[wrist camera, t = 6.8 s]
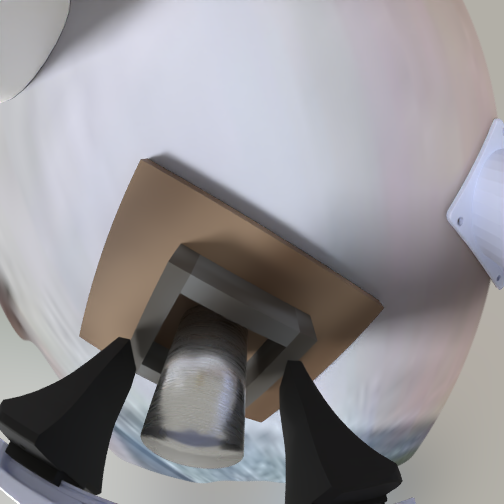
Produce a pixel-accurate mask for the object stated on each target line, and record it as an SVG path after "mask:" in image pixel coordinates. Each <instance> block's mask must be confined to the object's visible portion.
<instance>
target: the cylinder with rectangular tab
mask: <svg viewBox="0 0 504 504" xmlns="http://www.w3.org/2000/svg"><path fill="white" fill-rule="evenodd" d="M69 6H70V0H0V103H3V102H5V101H8V100H10V99H12V98H13V97H15V96H16V95H17V94H18V93H19V92H21V91H22V90H23V89H24V88H25V87H26V86H27V85H28V83H29V82H30V81H31V80H32V79H33V78H34V77H35V75H36V74H37V72H38V71H39V70H40V68H41V67H42V65H43V64H44V63H45V61H46V60H47V58H48V56H49V54H50V53H51V51H52V49H53V48H54V46H55V44H56V43H57V40H58V38H59V36H60V34H61V32H62V30H63V28H64V25H65V22H66V19H67V16H68V13H69Z"/></svg>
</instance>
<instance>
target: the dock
mask: <svg viewBox="0 0 504 504" xmlns="http://www.w3.org/2000/svg"><path fill="white" fill-rule="evenodd" d="M200 304H201V305H203V306H205V307H206V308H208V309H210V310H212V311H214V312H216V313H218V314H220V315H222V316H224V317H226V318H227V319H229V320H231V321H233V322H235V323H237V324H239V325H241V326H243V327H245V328H247V331H248V340H247V369H246V398H245V418H249V419H252V420H255V421H258V422H263V421H264V420H265V419H267V418H268V417H269V416H271V415H272V414H273V413H275V412H276V411H277V410H278V409H280V408H279V388H280V384H281V381H282V378H283V374H284V371H285V367H286V364H287V360H293V361H301V362H302V363H303V365H304V367H305V368H306V370H307V372H308V374H309V376H310V377H311V379H312V381H313V380H314V379H315V378H316V377H317V376H318V375H320V374H321V373H322V372H323V371H324V370H325V369H326V368H327V367H328V366H329V365H330V364H331V363H332V362H333V361H334V360H336V359H337V358H338V357H339V356H340V355H341V354H342V353H343V352H344V351H345V350H346V349H347V348H348V347H349V346H350V345H351V344H352V343H353V342H354V341H355V339H356V338H357V337H358V336H359V335H360V334H361V333H362V332H363V331H364V330H365V329H366V328H367V327H368V326H369V325H370V323H371V322H372V321H373V320H374V319H375V318H376V317H377V316H378V315H379V313H380V312H381V311H382V310H383V309H384V307H383V306H382V304H381V303H380V301H379V300H377V299H376V298H374V297H373V296H371V295H370V294H368V293H367V292H365V291H364V290H362V289H361V288H359V287H358V286H356V285H355V284H353V283H352V282H350V281H349V280H347V279H346V278H344V277H343V276H341V275H339V274H338V273H336V272H335V271H333V270H332V269H330V268H329V267H327V266H325V265H324V264H322V263H321V262H319V261H318V260H316V259H315V258H313V257H311V256H310V255H308V254H307V253H305V252H303V251H302V250H300V249H299V248H297V247H296V246H294V245H292V244H291V243H289V242H288V241H286V240H284V239H283V238H281V237H280V236H278V235H276V234H275V233H273V232H271V231H270V230H268V229H267V228H265V227H263V226H262V225H260V224H258V223H257V222H255V221H254V220H252V219H250V218H249V217H247V216H245V215H244V214H242V213H240V212H239V211H237V210H235V209H234V208H232V207H230V206H229V205H227V204H225V203H224V202H222V201H220V200H219V199H217V198H215V197H214V196H212V195H210V194H208V193H207V192H205V191H203V190H202V189H200V188H198V187H197V186H195V185H193V184H191V183H190V182H188V181H186V180H184V179H183V178H181V177H179V176H178V175H176V174H174V173H172V172H171V171H169V170H167V169H165V168H164V167H162V166H160V165H158V164H156V163H155V162H153V161H151V160H149V159H148V158H147V159H141V160H140V162H139V164H138V166H137V168H136V170H135V172H134V175H133V177H132V179H131V181H130V183H129V185H128V188H127V190H126V192H125V194H124V197H123V199H122V201H121V204H120V206H119V209H118V211H117V214H116V216H115V219H114V221H113V224H112V226H111V229H110V232H109V234H108V237H107V240H106V243H105V246H104V248H103V251H102V254H101V257H100V260H99V263H98V267H97V270H96V273H95V276H94V280H93V283H92V286H91V290H90V294H89V297H88V301H87V305H86V309H85V313H84V317H83V321H82V326H81V330H80V335H79V337H81V338H82V339H84V340H85V341H87V342H89V343H90V344H92V345H93V346H95V347H96V348H98V349H99V350H101V351H102V350H103V349H104V348H105V347H107V346H108V345H109V344H110V343H112V342H113V341H114V340H115V339H117V338H118V337H122V338H127V339H130V341H131V346H132V351H133V356H134V361H135V365H136V372H135V373H136V374H138V375H140V376H142V377H144V378H146V379H148V380H150V381H152V382H154V383H156V384H158V381H159V378H160V375H161V372H162V370H163V367H164V364H165V361H166V358H167V356H168V353H169V350H170V348H171V345H172V342H173V339H174V337H175V334H176V331H177V329H178V326H179V323H180V321H181V318H182V317H183V315H184V314H185V312H187V311H188V310H189V309H191V308H192V307H194V306H197V305H200Z"/></svg>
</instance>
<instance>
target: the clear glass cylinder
mask: <svg viewBox="0 0 504 504" xmlns="http://www.w3.org/2000/svg"><path fill="white" fill-rule="evenodd" d="M247 340H248V331H247V328H245V327H243V326H241V325H239V324H237V323H235V322H233V321H231V320H229V319H227V318H226V317H224V316H222V315H220V314H218V313H216V312H214V311H212V310H210V309H208V308H206V307H205V306H203V305H201V304H200V305H197V306H194V307H192V308H191V309H189V310H188V311H187V312H185V314H184V315H183V317H182V318H181V321H180V323H179V326H178V329H177V331H176V334H175V337H174V339H173V342H172V345H171V348H170V350H169V353H168V356H167V358H166V361H165V364H164V367H163V370H162V372H161V375H160V378H159V381H158V384H157V387H156V390H155V393H154V395H153V398H152V401H151V404H150V407H149V410H148V413H147V416H146V419H145V423H144V426H143V429H142V432H141V440H142V442H143V443H144V445H145V446H146V447H147V448H148V449H150V450H151V451H152V452H154V453H155V454H157V455H159V456H160V457H162V458H164V459H167V460H169V461H172V462H174V463H177V464H181V465H185V466H190V467H196V468H207V469H214V468H224V467H229V466H232V465H235V464H237V463H238V462H240V461H241V460H242V458H243V456H244V428H245V398H246V369H247Z"/></svg>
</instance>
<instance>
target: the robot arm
mask: <svg viewBox="0 0 504 504" xmlns="http://www.w3.org/2000/svg"><path fill="white" fill-rule="evenodd" d="M458 219H459V222H458V223H457V221H458ZM447 220H448V222H449V223H450V224H451V225H452V227H453V228H454V229H455V230H456V231H457V233H458V234H459V235H460V237H461V238H462V239H463V240H464V242H465V243H466V244H467V246H468V247H469V248H470V250H471V251H472V252H473V254H474V255H475V256H476V258H477V259H478V261H479V262H480V263H481V265H482V266H483V268H484V269H485V271H486V272H487V274H488V275H489V277H490V278H491V280H492V281H493V283H494V285H495V286H496V287H497V288H498V289H499V290H500V289H502V288H503V287H504V123H503V121H502V120H501V119H499V118H496V119H494V120H493V123H492V125H491V128H490V130H489V132H488V135H487V137H486V139H485V141H484V144H483V146H482V148H481V150H480V152H479V154H478V156H477V158H476V160H475V162H474V164H473V166H472V168H471V170H470V172H469V174H468V176H467V178H466V180H465V182H464V183H463V185H462V187H461V189H460V191H459V192H458V194H457V196H456V197H455V199H454V201H453V203H452V204H451V206H450V208H449V209H448V211H447ZM135 372H136V365H135V361H134V356H133V351H132V346H131V341H130V339H127V338H122V337H118V338H117V339H115V340H114V341H113V342H112V343H110V344H109V345H108V346H107V347H105V348H104V349H103V350H102V351H101V352H99V353H98V354H97V355H96V356H94V357H93V358H92V359H90V360H89V361H88V362H87V363H85V364H84V365H82V366H81V367H80V368H78V369H77V370H75V371H74V372H72V373H71V374H69V375H68V376H66V377H64V378H63V379H61V380H59V381H57V382H55V383H53V384H51V385H49V386H47V387H45V388H42V389H40V390H38V391H35V392H32V393H29V394H26V395H23V396H20V397H15V398H11V399H6V400H3V401H2V403H1V404H0V430H1V431H2V432H3V434H4V435H5V436H6V437H7V438H8V439H9V440H10V443H9V445H8V444H7V443H6V442H4V441H3V440H2V439H1V438H0V489H1V490H2V491H3V492H5V493H6V494H7V495H8V496H9V497H11V498H12V499H13V500H14V501H16V502H17V503H18V504H117V503H114V502H111V501H109V500H106V499H103V498H101V497H98V496H96V495H98V494H100V493H101V489H102V480H103V479H102V478H103V471H104V466H105V460H106V455H107V451H108V446H109V442H110V438H111V435H112V431H113V428H114V425H115V422H116V420H117V418H118V415H119V413H120V411H121V409H122V406H123V404H124V402H125V400H126V397H127V395H128V393H129V391H130V388H131V386H132V382H133V379H134V376H135ZM279 408H280V415H281V423H282V430H283V437H284V444H285V454H286V491H285V504H385V503H384V502H386V501H387V497H386V494H388V493H389V492H390V491H392V490H394V489H395V488H397V487H398V486H399V485H400V484H401V482H402V478H401V474H400V471H399V469H398V466H397V464H396V463H394V462H393V461H391V460H389V459H388V458H386V457H384V456H382V455H381V454H379V453H378V452H376V451H375V450H374V449H372V448H371V447H369V446H368V445H367V444H366V443H364V442H363V441H362V440H361V439H360V438H359V437H357V436H356V435H355V434H354V433H353V432H352V431H351V430H350V429H349V428H348V427H347V426H346V425H345V424H344V423H343V422H342V421H341V420H340V419H339V417H338V416H337V415H336V414H335V413H334V411H333V410H332V409H331V407H330V406H329V405H328V403H327V402H326V401H325V399H324V398H323V396H322V395H321V393H320V392H319V390H318V389H317V387H316V386H315V384H314V382H313V381H312V379H311V377H310V376H309V374H308V372H307V370H306V368H305V367H304V365H303V363H302V362H301V361H293V360H287V364H286V367H285V371H284V374H283V378H282V381H281V384H280V388H279ZM79 488H80V489H79ZM88 492H89V493H88ZM395 504H416V503H415V499H414V498H410V499H407V500H404V501H401V502H398V503H395Z"/></svg>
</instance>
